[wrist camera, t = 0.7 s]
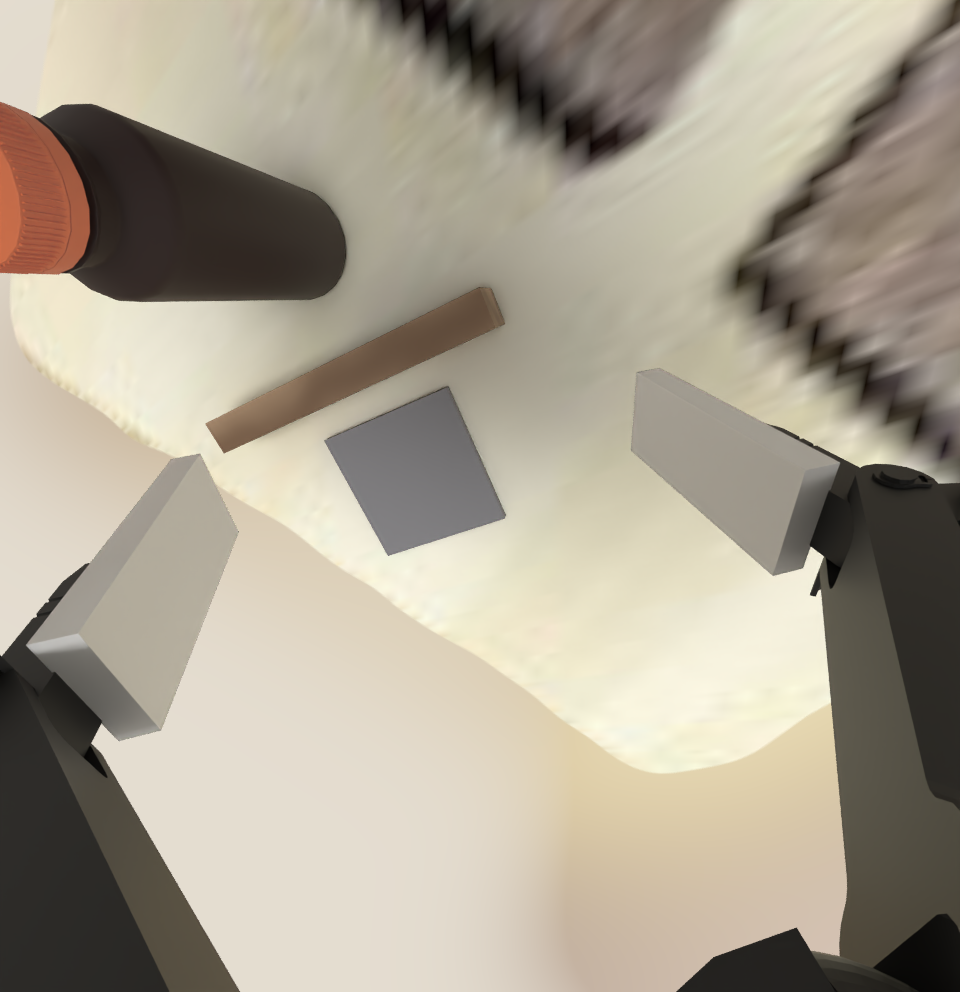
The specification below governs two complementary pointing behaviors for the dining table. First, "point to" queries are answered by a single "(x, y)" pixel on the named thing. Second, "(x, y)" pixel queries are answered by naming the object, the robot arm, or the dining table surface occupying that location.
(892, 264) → the dining table surface
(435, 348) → the door rail
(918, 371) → the dining table surface
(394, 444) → the pad
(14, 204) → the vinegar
